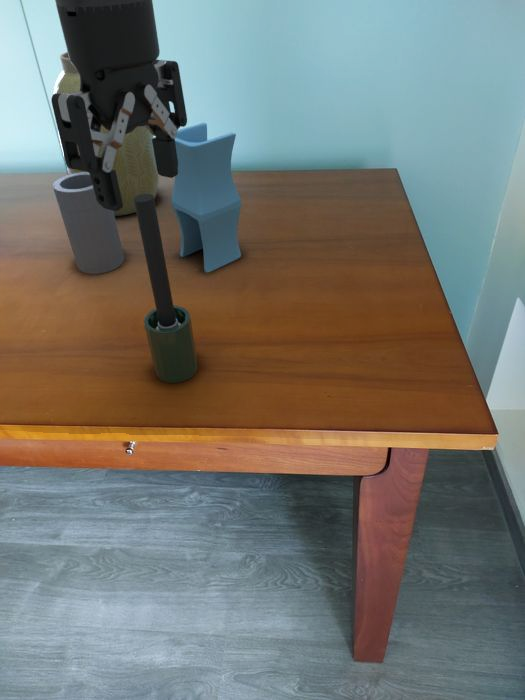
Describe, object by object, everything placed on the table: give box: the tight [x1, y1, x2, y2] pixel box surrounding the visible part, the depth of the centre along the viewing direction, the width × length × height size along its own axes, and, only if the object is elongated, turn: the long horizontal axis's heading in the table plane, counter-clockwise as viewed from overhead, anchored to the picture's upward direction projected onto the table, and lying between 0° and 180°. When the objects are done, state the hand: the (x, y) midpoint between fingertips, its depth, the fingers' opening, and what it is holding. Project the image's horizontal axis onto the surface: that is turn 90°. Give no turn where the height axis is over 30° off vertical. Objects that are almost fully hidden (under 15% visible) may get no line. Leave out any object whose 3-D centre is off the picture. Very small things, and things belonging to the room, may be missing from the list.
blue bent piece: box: [170, 122, 242, 274], centre depth 83 cm, size 8×8×20 cm
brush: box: [134, 194, 181, 330], centre depth 60 cm, size 3×3×22 cm
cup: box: [52, 172, 125, 275], centre depth 85 cm, size 8×8×14 cm
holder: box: [143, 305, 199, 384], centre depth 65 cm, size 5×5×8 cm
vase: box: [53, 51, 161, 217], centre depth 99 cm, size 17×17×27 cm
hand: (141, 191), depth 52 cm, fingers open, 8 cm apart
